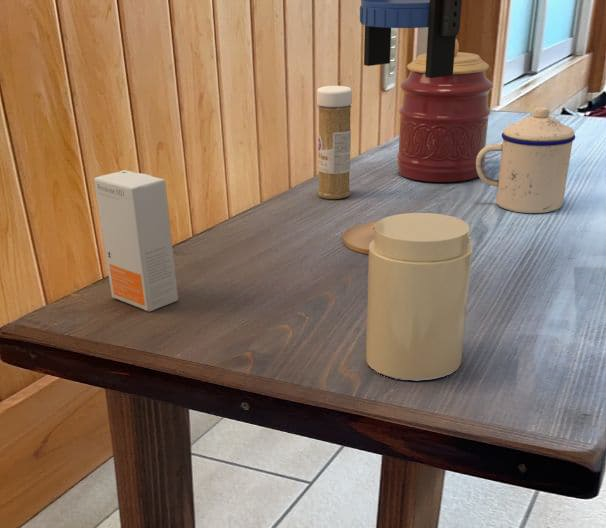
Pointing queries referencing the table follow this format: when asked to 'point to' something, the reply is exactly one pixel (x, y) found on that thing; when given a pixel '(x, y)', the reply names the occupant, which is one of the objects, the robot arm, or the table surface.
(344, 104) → the brown spice bottle
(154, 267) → the cosmetic box
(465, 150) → the kitchen canister
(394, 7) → the lid
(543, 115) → the teacup with lid
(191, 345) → the table surface
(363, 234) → the coaster
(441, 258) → the jar
